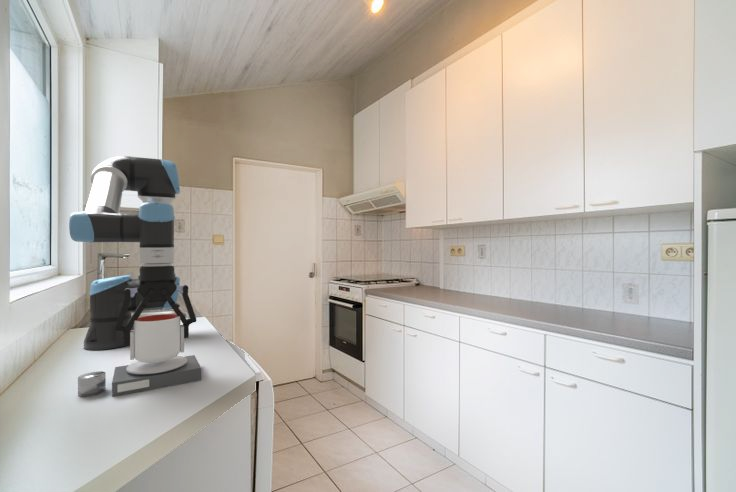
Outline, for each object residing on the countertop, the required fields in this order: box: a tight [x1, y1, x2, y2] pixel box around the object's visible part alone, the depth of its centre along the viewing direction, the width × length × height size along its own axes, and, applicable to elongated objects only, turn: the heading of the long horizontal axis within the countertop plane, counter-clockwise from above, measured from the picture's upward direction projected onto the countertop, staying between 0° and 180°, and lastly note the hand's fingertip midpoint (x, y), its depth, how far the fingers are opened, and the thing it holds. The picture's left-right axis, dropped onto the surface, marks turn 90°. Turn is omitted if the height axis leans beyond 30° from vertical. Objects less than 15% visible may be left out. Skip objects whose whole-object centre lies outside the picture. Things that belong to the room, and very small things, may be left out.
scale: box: [111, 355, 202, 397], centre depth 90 cm, size 13×18×4 cm
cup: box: [134, 313, 181, 363], centre depth 90 cm, size 10×10×10 cm
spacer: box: [77, 370, 107, 398], centre depth 82 cm, size 5×5×4 cm
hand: (157, 354), depth 90 cm, fingers closed on cup, 10 cm apart
